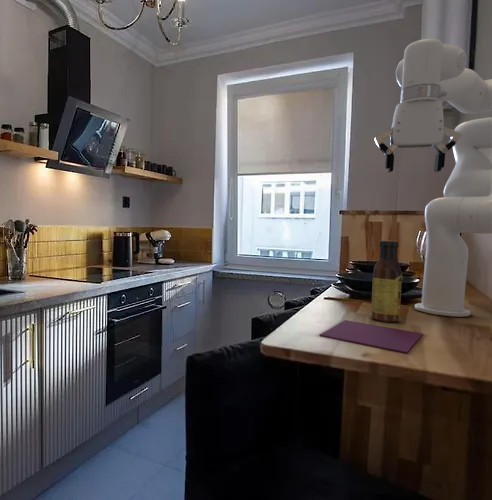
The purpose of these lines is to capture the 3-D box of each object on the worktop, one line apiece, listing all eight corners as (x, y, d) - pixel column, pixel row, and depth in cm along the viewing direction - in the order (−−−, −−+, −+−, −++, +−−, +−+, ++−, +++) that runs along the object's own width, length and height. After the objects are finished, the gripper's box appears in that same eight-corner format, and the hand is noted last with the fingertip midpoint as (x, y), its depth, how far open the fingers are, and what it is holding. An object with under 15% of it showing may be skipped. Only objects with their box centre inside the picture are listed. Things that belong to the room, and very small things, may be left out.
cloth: (345, 321, 103) (345, 320, 103) (422, 334, 93) (422, 333, 93) (319, 335, 90) (319, 334, 90) (406, 353, 79) (407, 352, 79)
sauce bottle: (403, 323, 102) (409, 242, 101) (375, 321, 104) (381, 240, 102) (393, 317, 109) (398, 240, 107) (366, 315, 110) (372, 239, 108)
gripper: (458, 98, 99) (452, 172, 100) (375, 104, 105) (370, 173, 107) (469, 89, 92) (462, 169, 94) (379, 95, 98) (374, 170, 100)
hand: (413, 171), depth 100 cm, fingers open, 9 cm apart
